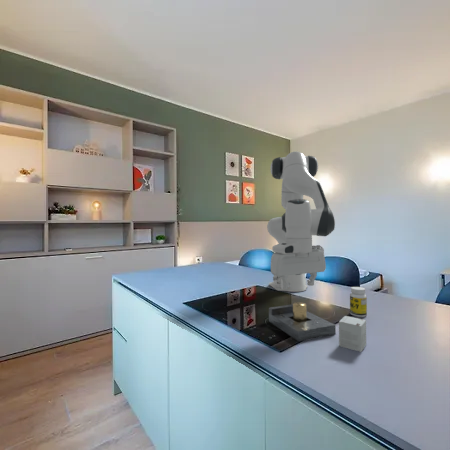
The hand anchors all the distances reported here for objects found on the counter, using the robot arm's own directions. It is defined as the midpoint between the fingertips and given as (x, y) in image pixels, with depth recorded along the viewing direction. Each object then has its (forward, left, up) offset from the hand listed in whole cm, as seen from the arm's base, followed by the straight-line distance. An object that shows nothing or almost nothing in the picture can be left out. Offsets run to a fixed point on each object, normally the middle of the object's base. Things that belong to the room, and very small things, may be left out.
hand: (299, 286), depth 92 cm
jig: (0, 0, -14) cm, 14 cm away
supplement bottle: (-2, +28, -14) cm, 31 cm away
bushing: (0, 0, -14) cm, 14 cm away
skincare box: (+17, +6, -14) cm, 23 cm away
